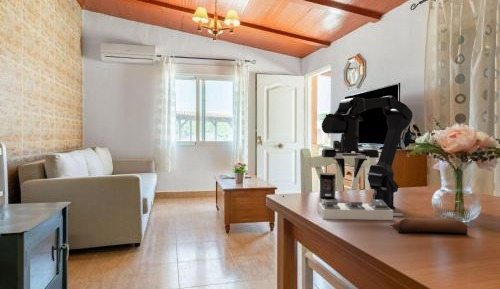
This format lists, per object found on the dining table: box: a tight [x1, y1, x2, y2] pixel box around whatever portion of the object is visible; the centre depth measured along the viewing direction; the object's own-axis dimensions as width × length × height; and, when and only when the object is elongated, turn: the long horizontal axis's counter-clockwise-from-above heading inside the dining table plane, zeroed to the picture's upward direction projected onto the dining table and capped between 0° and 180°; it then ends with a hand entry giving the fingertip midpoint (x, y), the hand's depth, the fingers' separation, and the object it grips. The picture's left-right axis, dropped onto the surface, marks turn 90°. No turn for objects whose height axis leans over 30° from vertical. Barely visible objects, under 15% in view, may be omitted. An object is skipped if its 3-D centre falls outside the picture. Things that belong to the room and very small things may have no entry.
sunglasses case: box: [390, 217, 468, 236], centre depth 87 cm, size 18×7×7 cm
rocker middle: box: [346, 201, 363, 205], centre depth 103 cm, size 4×5×1 cm
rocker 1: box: [323, 200, 339, 205], centre depth 103 cm, size 4×5×1 cm
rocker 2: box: [370, 198, 388, 208], centre depth 102 cm, size 4×5×1 cm
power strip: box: [317, 202, 404, 221], centre depth 104 cm, size 27×10×4 cm, turn 87°
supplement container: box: [319, 172, 337, 200], centre depth 134 cm, size 7×7×10 cm
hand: (349, 177), depth 109 cm, fingers open, 4 cm apart
